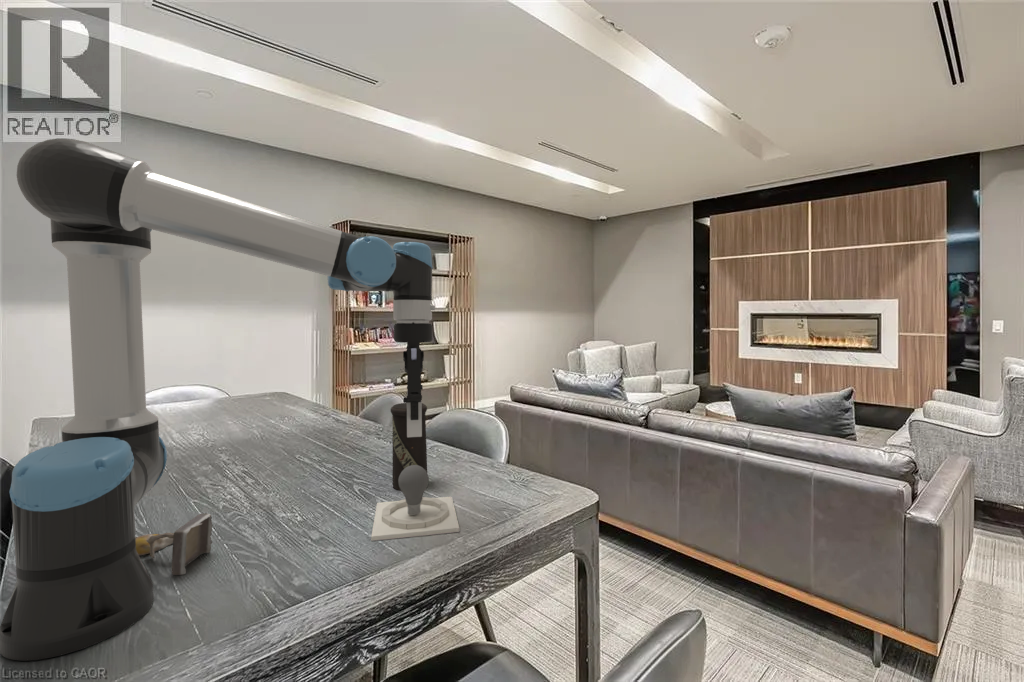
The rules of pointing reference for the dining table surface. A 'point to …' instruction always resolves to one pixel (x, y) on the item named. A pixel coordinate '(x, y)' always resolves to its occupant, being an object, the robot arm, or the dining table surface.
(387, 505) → the socket
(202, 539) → the decorative sculpture
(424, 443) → the container
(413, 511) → the light bulb
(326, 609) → the dining table surface
